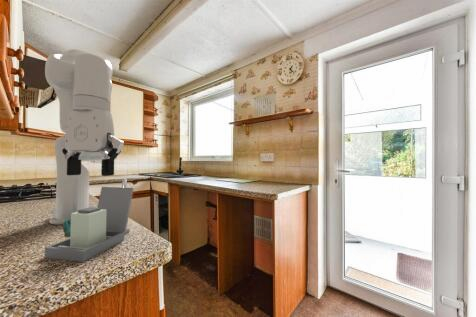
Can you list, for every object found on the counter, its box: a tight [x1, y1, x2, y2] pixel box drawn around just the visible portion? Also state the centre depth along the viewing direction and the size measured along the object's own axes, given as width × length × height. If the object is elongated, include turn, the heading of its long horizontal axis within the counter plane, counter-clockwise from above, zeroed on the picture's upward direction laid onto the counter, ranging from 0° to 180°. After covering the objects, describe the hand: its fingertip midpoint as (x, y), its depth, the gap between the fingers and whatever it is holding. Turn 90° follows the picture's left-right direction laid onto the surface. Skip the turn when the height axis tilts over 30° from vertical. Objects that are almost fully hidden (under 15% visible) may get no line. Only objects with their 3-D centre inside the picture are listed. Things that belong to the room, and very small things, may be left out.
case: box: [44, 230, 125, 263], centre depth 49 cm, size 10×12×3 cm
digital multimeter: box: [63, 219, 71, 237], centre depth 64 cm, size 7×15×3 cm, turn 45°
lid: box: [96, 186, 134, 232], centre depth 57 cm, size 10×12×1 cm
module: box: [69, 206, 107, 248], centre depth 49 cm, size 5×5×10 cm
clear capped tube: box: [121, 178, 131, 236], centre depth 59 cm, size 2×2×17 cm
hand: (90, 175), depth 49 cm, fingers open, 9 cm apart
